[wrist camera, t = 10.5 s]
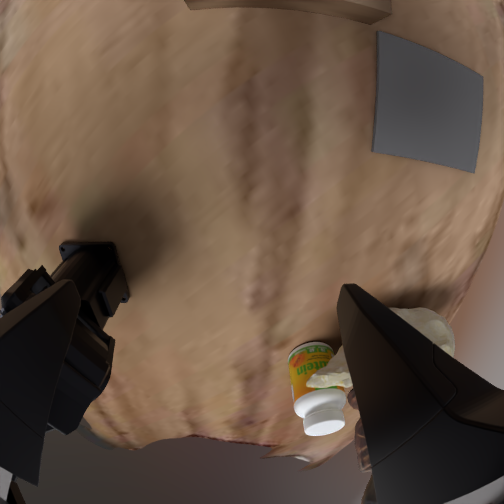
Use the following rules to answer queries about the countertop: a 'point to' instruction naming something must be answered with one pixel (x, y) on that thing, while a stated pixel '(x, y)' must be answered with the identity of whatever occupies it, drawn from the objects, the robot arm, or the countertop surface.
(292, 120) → the countertop surface
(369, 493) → the mortar and pestle
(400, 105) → the mat
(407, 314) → the cream lumpy knobby chunk
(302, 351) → the supplement bottle
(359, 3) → the block
